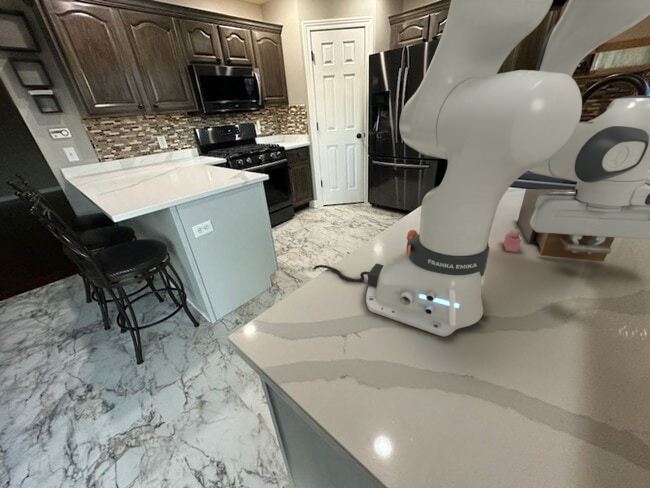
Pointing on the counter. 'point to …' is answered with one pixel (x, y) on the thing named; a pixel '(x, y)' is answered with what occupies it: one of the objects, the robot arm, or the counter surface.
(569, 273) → the counter surface
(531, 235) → the cabinet
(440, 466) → the counter surface
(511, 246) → the doll
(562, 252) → the drawer
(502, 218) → the counter surface
